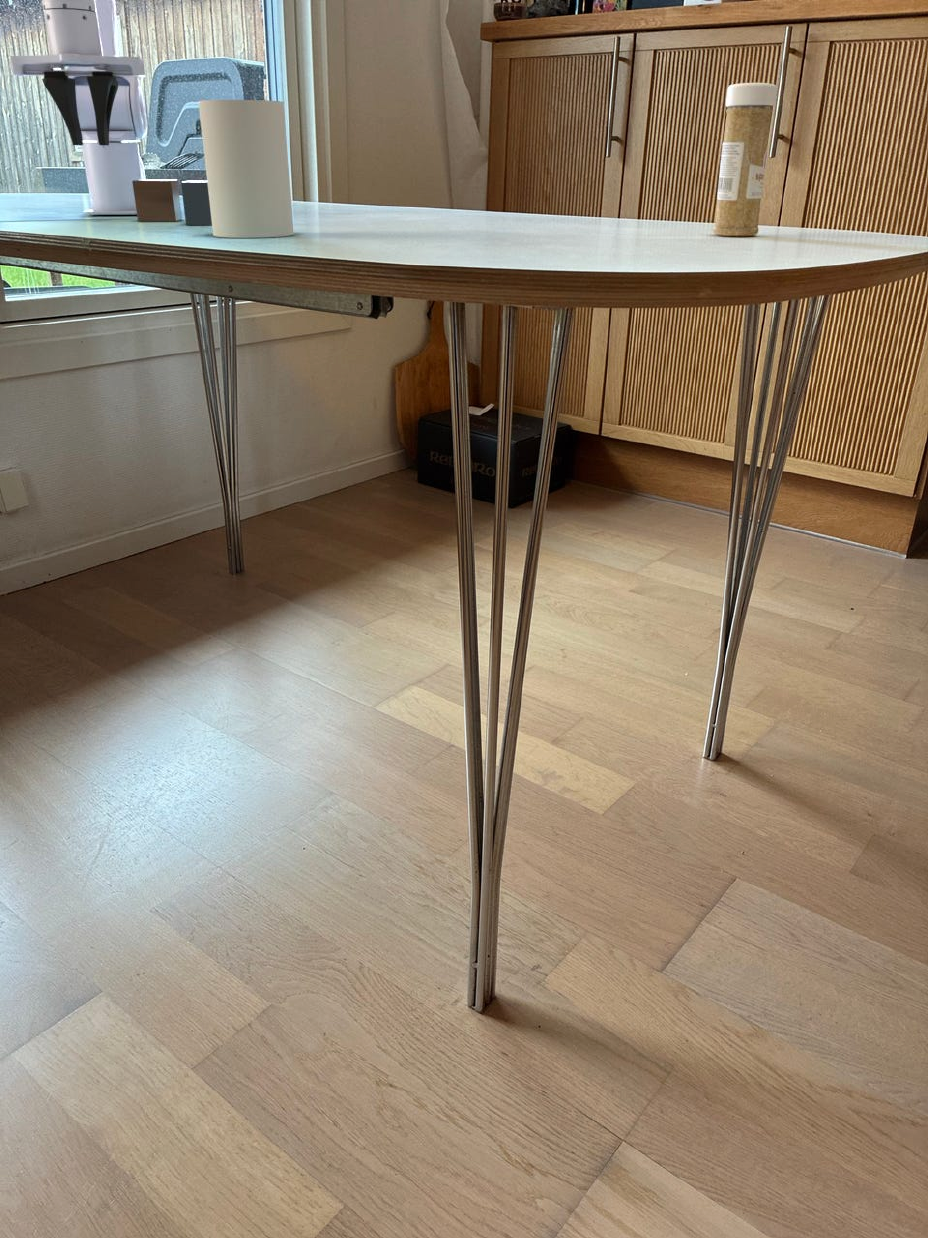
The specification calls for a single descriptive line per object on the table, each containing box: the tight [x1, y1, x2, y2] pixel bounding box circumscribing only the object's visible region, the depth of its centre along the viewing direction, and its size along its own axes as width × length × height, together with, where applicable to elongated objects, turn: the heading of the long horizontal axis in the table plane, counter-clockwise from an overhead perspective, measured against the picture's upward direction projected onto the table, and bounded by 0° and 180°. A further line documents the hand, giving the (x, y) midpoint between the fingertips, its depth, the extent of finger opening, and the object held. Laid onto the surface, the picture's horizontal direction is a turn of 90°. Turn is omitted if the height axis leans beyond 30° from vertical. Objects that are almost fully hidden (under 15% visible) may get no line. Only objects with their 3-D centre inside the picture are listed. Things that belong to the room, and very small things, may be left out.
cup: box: [198, 99, 294, 239], centre depth 94 cm, size 8×8×12 cm
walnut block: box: [132, 179, 183, 223], centre depth 117 cm, size 5×5×5 cm
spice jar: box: [712, 82, 777, 237], centre depth 93 cm, size 5×5×13 cm
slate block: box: [180, 180, 212, 226], centre depth 111 cm, size 5×5×5 cm
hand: (91, 145), depth 113 cm, fingers closed
